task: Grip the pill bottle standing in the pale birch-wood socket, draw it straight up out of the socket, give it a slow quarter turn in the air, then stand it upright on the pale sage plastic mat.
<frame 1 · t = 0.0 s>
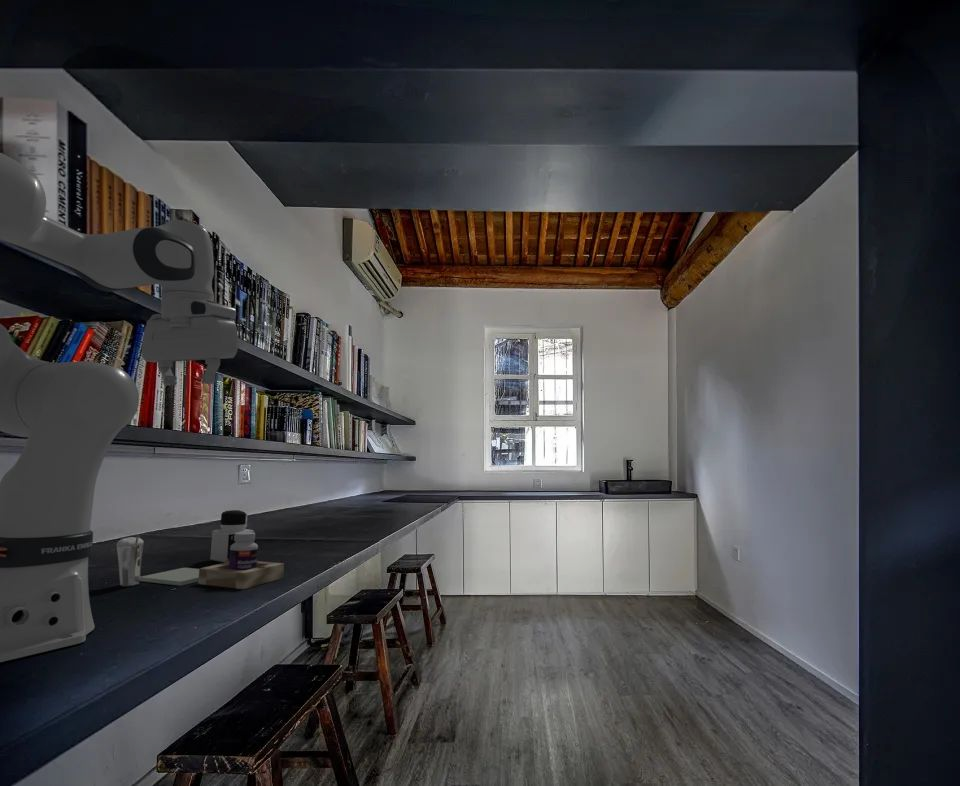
hand: (188, 384, 106), 39 cm above the worktop, tool pointing down, fingers open, 8 cm apart
sage mat: (182, 578, 119), on the worktop
milkshake: (131, 585, 112), on the worktop
medicine bottle: (231, 560, 141), on the worktop
socket block: (242, 580, 117), on the worktop
pill bottle: (241, 582, 117), resting in socket block
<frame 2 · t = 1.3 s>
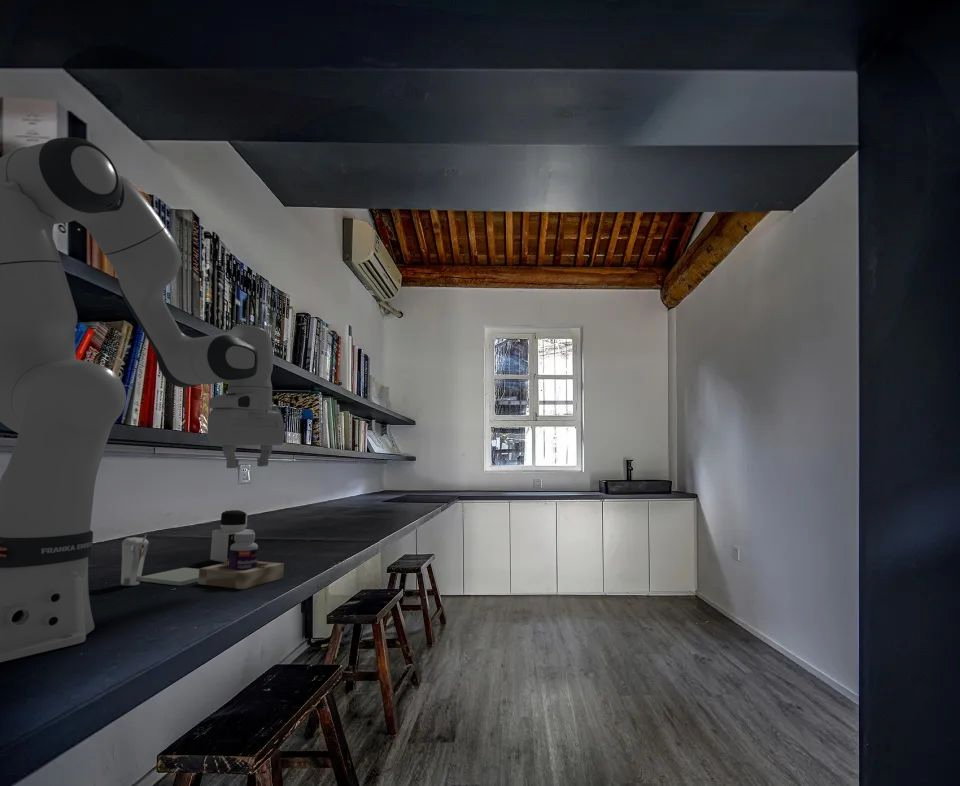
hand: (248, 467, 120), 23 cm above the worktop, tool pointing down, fingers open, 8 cm apart
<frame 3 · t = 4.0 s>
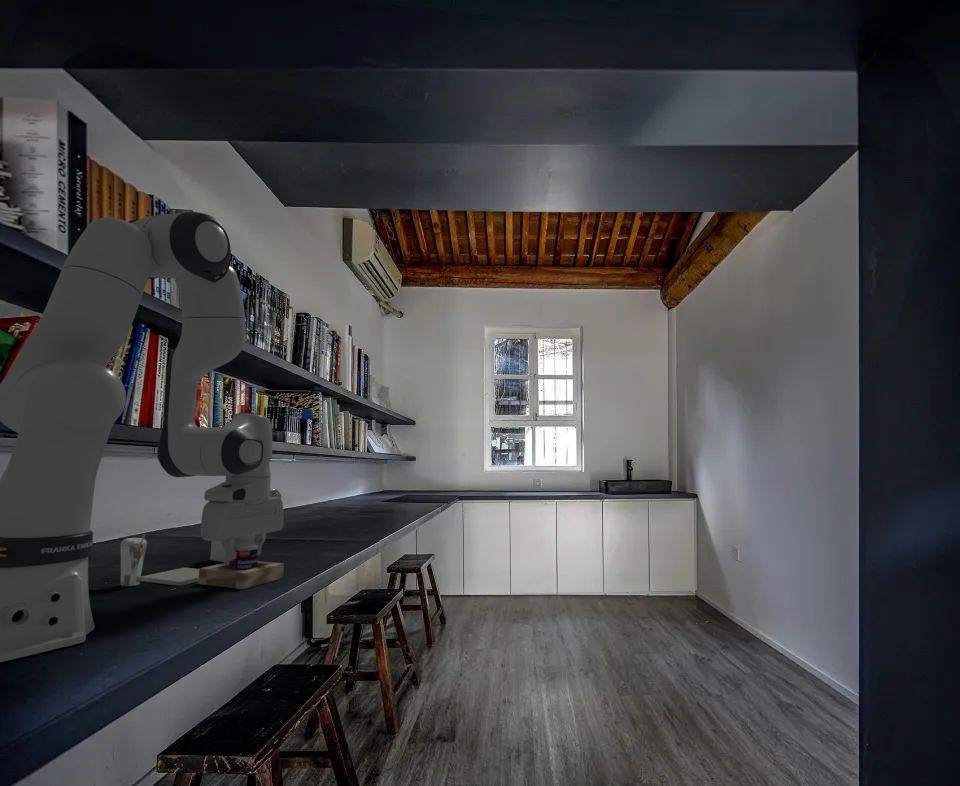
hand: (243, 557, 118), 5 cm above the worktop, tool pointing down, fingers closed on pill bottle, 5 cm apart
pill bottle: (241, 581, 117), resting in socket block, touching gripper
everything else where it was.
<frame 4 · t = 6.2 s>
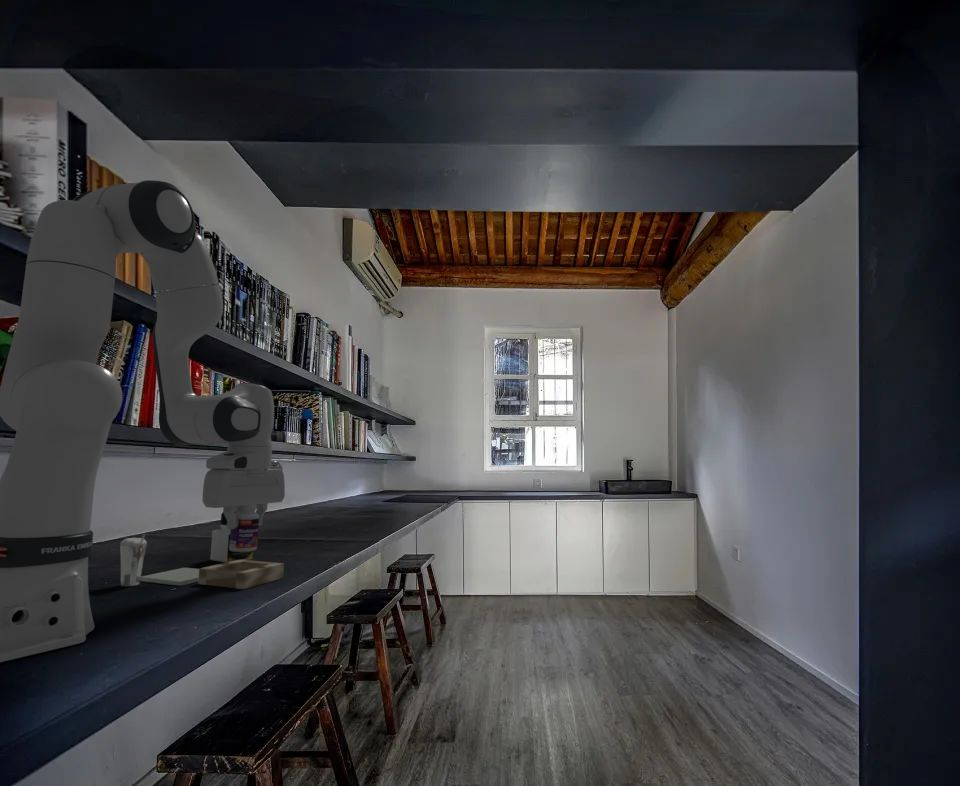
hand: (244, 527, 118), 11 cm above the worktop, tool pointing down, fingers closed on pill bottle, 5 cm apart
pill bottle: (243, 551, 118), point 6 cm above the worktop, touching gripper
everything else where it was.
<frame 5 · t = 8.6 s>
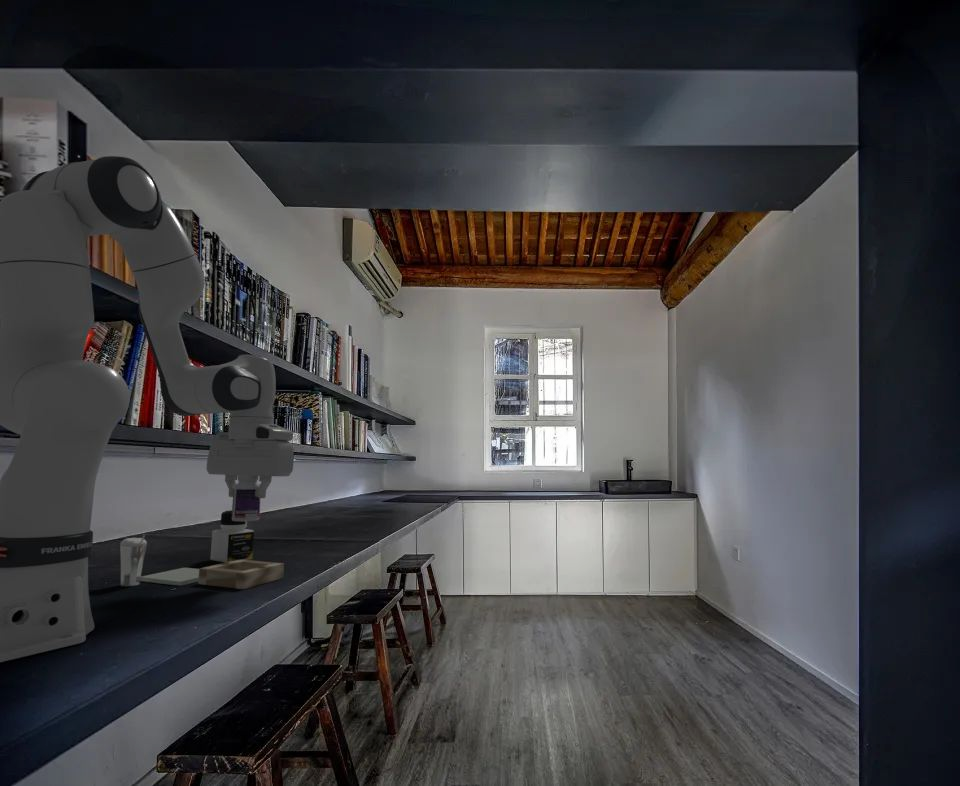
hand: (246, 497, 119), 17 cm above the worktop, tool pointing down, fingers closed on pill bottle, 5 cm apart
pill bottle: (245, 521, 119), point 12 cm above the worktop, touching gripper
everything else where it was.
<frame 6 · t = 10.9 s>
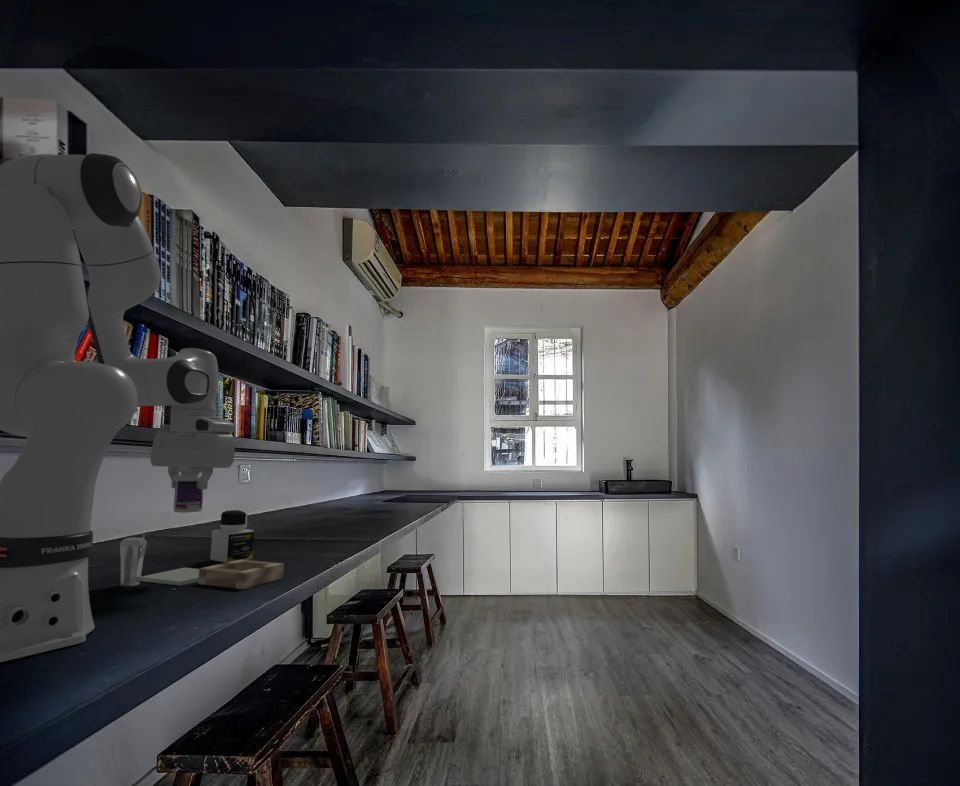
hand: (189, 488, 121), 18 cm above the worktop, tool pointing down, fingers closed on pill bottle, 5 cm apart
pill bottle: (187, 512, 121), point 14 cm above the worktop, touching gripper
everything else where it was.
when the fingers open (7 cm above the worktop, at t = 13.1 s): pill bottle drops 1 cm, resting on sage mat.
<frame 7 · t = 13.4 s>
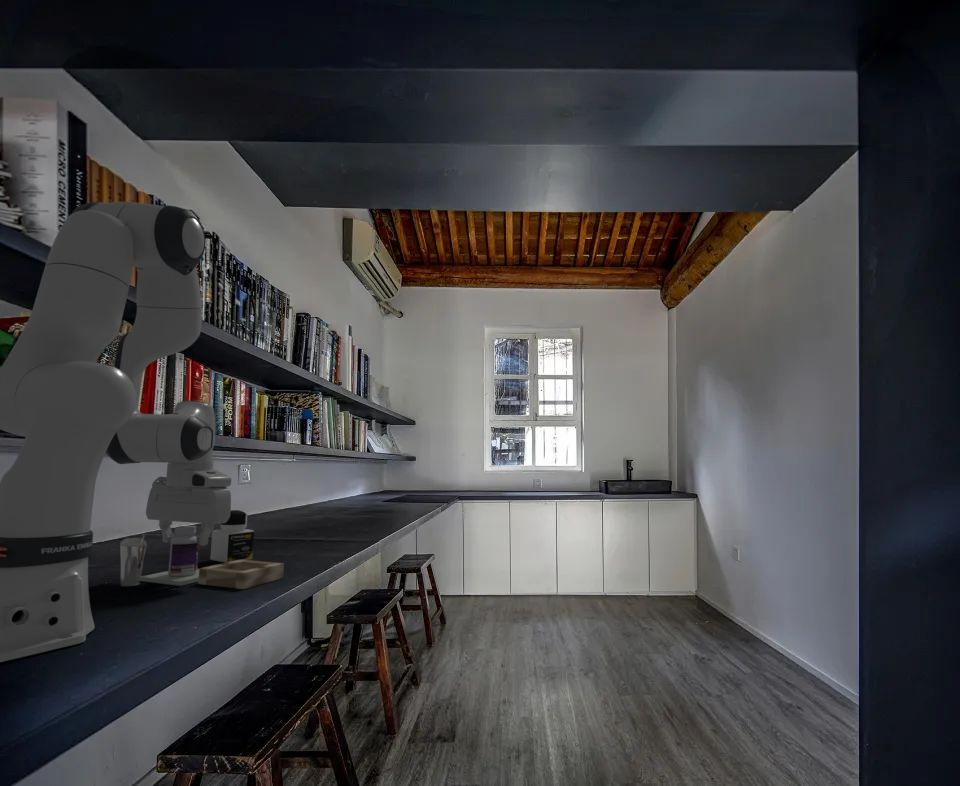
hand: (184, 543, 120), 7 cm above the worktop, tool pointing down, fingers open, 8 cm apart
pill bottle: (182, 575, 119), point 1 cm above the worktop, touching sage mat
everything else where it was.
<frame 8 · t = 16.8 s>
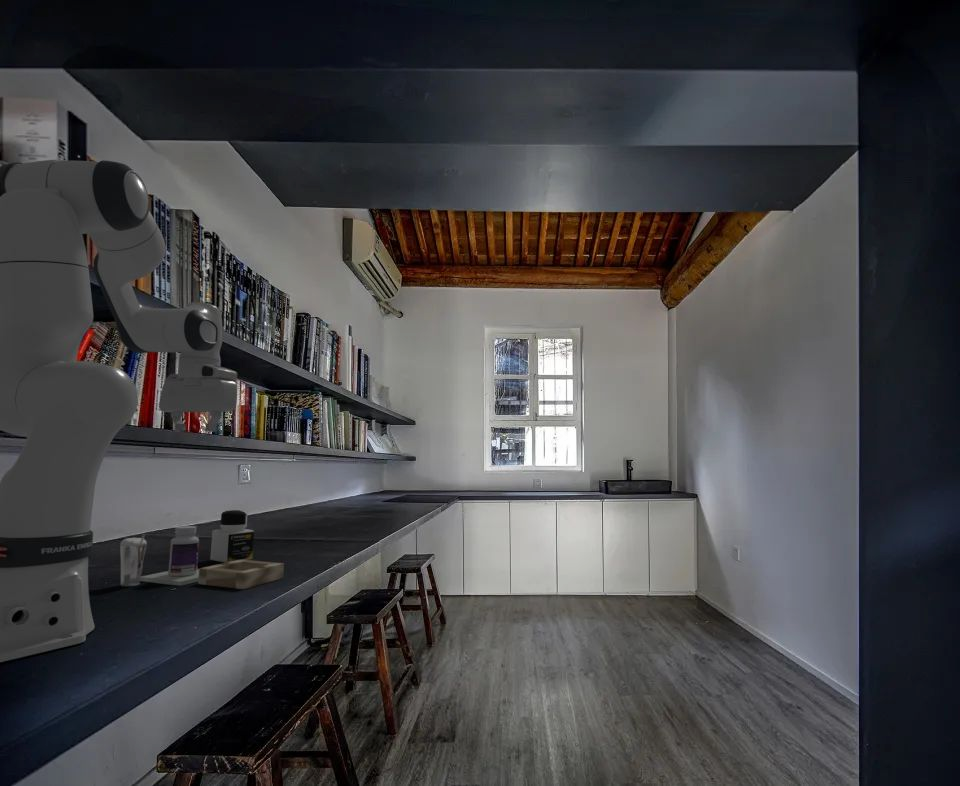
hand: (194, 431, 132), 31 cm above the worktop, tool pointing down, fingers open, 8 cm apart
nothing on the worktop moved.
at the end: pill bottle inside the target area on the sage mat (0.1 cm from its centre), point 0.6 cm above the sage mat's base; pill bottle tilted 0°; the gripper is holding nothing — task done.
